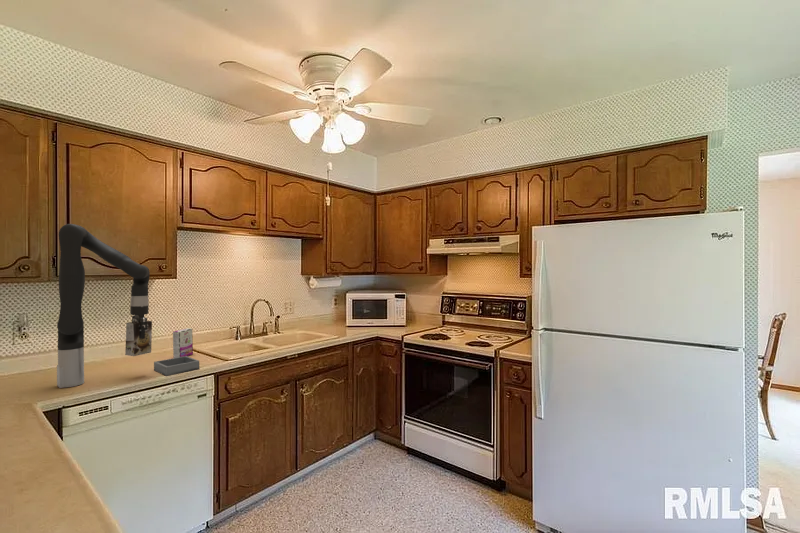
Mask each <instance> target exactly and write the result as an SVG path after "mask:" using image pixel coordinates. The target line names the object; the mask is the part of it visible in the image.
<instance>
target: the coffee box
mask: <svg viewBox="0 0 800 533" xmlns="http://www.w3.org/2000/svg"><path fill="white" fill-rule="evenodd" d="M143 323H144V322H143ZM139 325H141V323H137V322H132V321H131V322H126V326H125V328H126V329H125V350H124V351H125V354H124V355H125V356H130V357H137V356H142V355H146V354H150V353H152V341H153V340H152V338H153V337H152V336H153V321H152V320H147V330H146V331H145V338H144V339H140V338H139ZM142 328H143V327H142Z"/></svg>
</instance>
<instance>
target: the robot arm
mask: <svg viewBox="0 0 800 533" xmlns="http://www.w3.org/2000/svg"><path fill="white" fill-rule="evenodd" d="M58 241H59V251H60V253H59V255H60V256H59V271H58V293H59V302H60V309H59V314H58V319H57V320H58V321H57V325H56V327H57V365H56V386H57V387H58V388H59V389H63V388H70V387H71V388H72V387H77V386H79V385H83V384H85V349H84V348H85V337H84V335H85V332H84V329H85V327H84V326H85V325H84V324H85V323H84V319H83V313H82V312H83V311H82V310H83V309H82V303H83V297H84V291H85V285H86V284H85V282H86V274H85V273H86V271H85V270H86V269H85V267H84V266H85V265H84V263H83V259H82V253H81V252H82V251H81V250H82V248H84V249H86V250H89V251H90V252H92V253H94V254H95V255H97V257H99V258H101V259H102V260H103V261H105V262H107V263H108V264H110V265H111V266H113V267H116V268H117V269H119V270H121V271H123V273H125V274H127V275H128V276H130V277H132V278H133V279H132V281H133V282H132V285H131V290H130V291H131V292H130V303H129V304H130V305H129V306H130V308H129V311H130V312H129V314H130V315H131V322H137V323H141V325H139V338H140V339H144V338H145V331H146V330H147V321H148V317H145V315H148V314H149V310H150V308H149V307H150V306H149V304H150V300H149V282H150V276H151V275H150V272H151V271H150V269H149V267H148V266H146V265H144V264H140V263H138V262H136V261H135V260H133V259H131V257H129V256H128V255H127V254H125V253H123V252H121V251H120V250H117V249H115V248H114V247H112V246H110V245H109V244H106V243H104V242H103V241H101V240H100V239H99V238H97V237H96V236H94V235H93V234H92V233H91V232H89V231H88V230H87V229H86V228H85V227H83V226H81V225H78V224H75V223H74V224H73V223H66V224H64V225H63V226H61V227H60V229H59V231H58ZM143 322H144V323H143ZM142 327H143V328H142Z"/></svg>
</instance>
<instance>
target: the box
mask: <svg viewBox="0 0 800 533" xmlns="http://www.w3.org/2000/svg"><path fill="white" fill-rule="evenodd" d="M153 370H154V371H155V372H157V373H159V374H160V375H164V376H165V377H169V376H173V375H178V374H183V373H188V372H192V371H197V370H200V360H198V359H195V358H192V357H190V356H183V357H178V358H167V359H162V360H157V361H156V360H155V361H153Z"/></svg>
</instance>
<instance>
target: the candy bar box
mask: <svg viewBox="0 0 800 533" xmlns="http://www.w3.org/2000/svg"><path fill="white" fill-rule="evenodd" d="M193 344H194V343H193V328H187V327H186V328H183V329H178V330H175V331H172V350H173V351H172V352H173V353H172V354H173V355H172V356H173V358H178V357H183V356H187V357H190V356H192V355H194V353H193V352H194V347H193V346H194V345H193Z"/></svg>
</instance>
